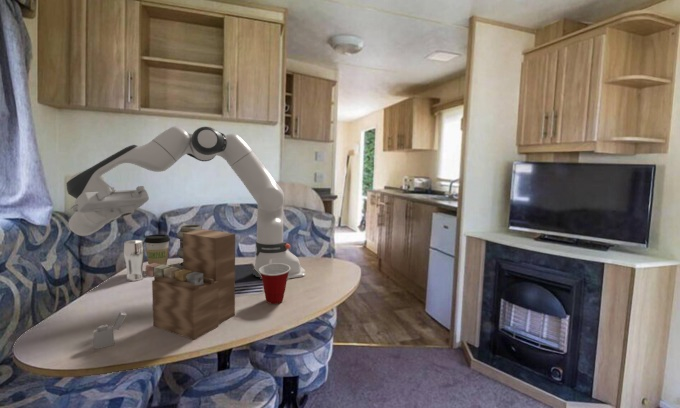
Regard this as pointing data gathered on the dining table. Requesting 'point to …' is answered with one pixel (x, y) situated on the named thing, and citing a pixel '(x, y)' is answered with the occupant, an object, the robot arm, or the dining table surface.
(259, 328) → the dining table surface
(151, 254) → the coffee cup
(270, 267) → the plastic cup
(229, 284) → the walnut display stand
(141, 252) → the beer glass
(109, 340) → the lighter
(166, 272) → the bead bar
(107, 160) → the robot arm
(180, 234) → the apothecary jar
